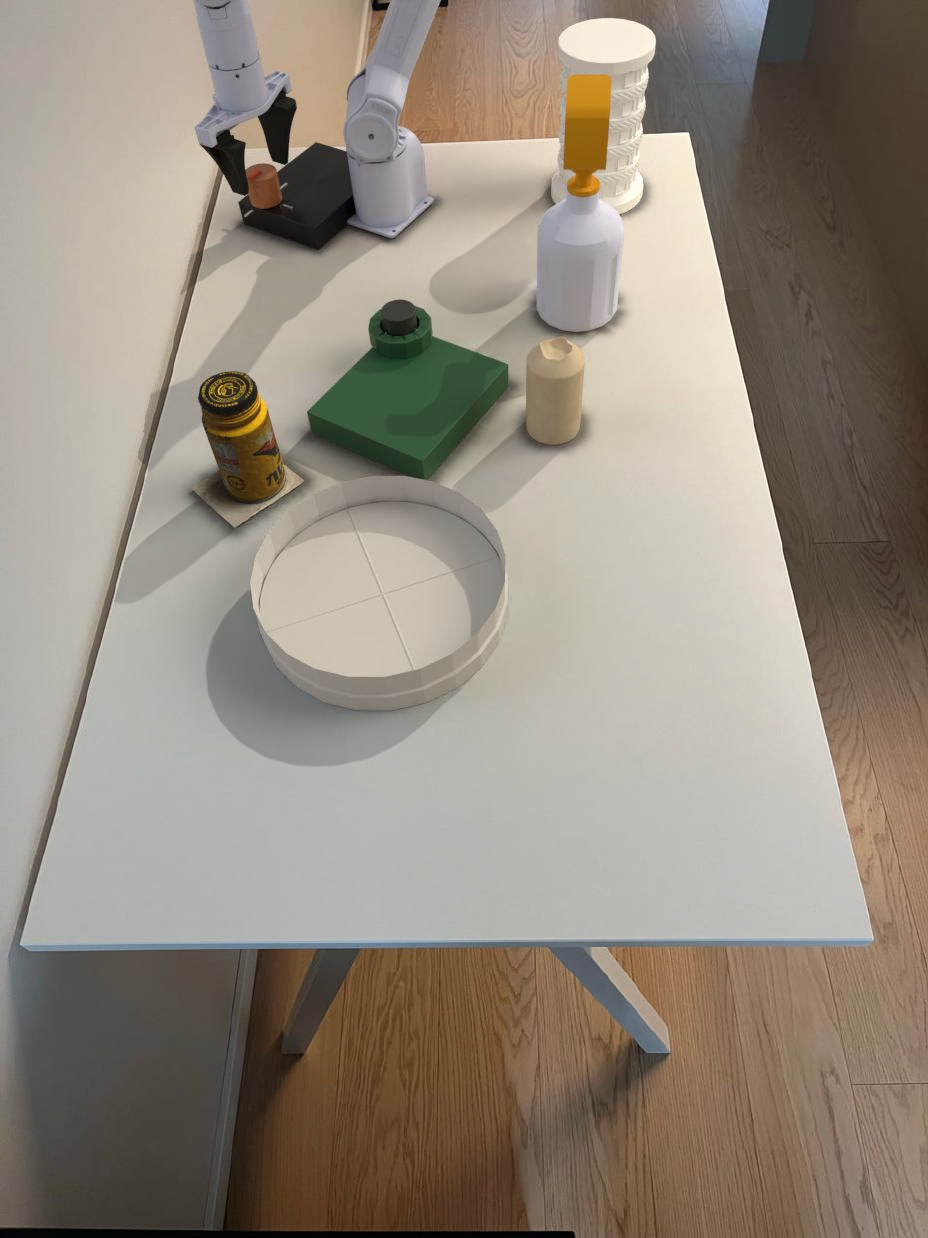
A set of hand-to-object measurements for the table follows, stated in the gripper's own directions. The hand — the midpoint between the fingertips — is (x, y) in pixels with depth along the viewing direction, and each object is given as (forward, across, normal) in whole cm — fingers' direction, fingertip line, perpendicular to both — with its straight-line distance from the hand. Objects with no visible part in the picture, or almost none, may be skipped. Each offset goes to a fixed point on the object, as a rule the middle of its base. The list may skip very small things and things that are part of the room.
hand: (260, 176), depth 115 cm
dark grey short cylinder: (+1, +14, +30) cm, 33 cm away
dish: (+6, +42, +47) cm, 63 cm away
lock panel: (+6, -5, +3) cm, 8 cm away
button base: (+6, +20, +35) cm, 41 cm away
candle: (+6, +15, +49) cm, 52 cm away
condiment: (+6, +37, +27) cm, 46 cm away
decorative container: (+6, -25, +33) cm, 42 cm away
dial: (+3, 0, 0) cm, 3 cm away
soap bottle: (+6, -3, +42) cm, 43 cm away
